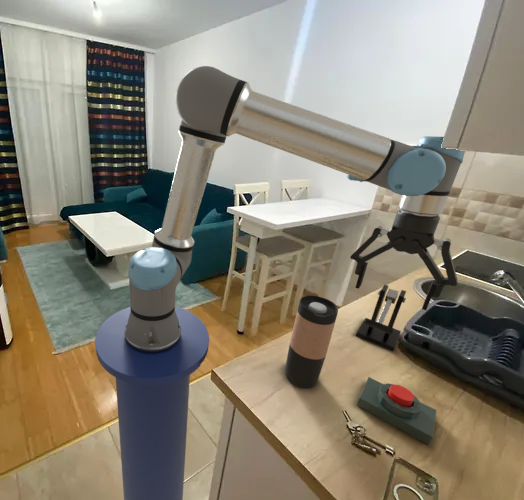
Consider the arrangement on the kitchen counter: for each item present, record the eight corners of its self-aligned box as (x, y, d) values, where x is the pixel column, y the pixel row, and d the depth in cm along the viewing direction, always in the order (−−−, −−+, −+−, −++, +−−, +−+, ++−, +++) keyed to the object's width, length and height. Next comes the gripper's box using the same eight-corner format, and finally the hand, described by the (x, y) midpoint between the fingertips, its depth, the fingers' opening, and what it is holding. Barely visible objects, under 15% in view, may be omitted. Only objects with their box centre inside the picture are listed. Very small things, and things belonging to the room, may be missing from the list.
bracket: (393, 351, 77) (411, 304, 72) (355, 335, 83) (370, 290, 78) (399, 334, 84) (416, 290, 78) (364, 320, 90) (378, 278, 84)
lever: (390, 336, 72) (392, 331, 71) (363, 325, 76) (364, 320, 75) (405, 299, 78) (407, 294, 77) (379, 291, 82) (381, 285, 80)
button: (385, 398, 59) (388, 392, 58) (389, 387, 62) (392, 381, 61) (410, 411, 56) (413, 404, 56) (412, 398, 59) (415, 392, 58)
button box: (356, 405, 62) (361, 391, 60) (365, 383, 67) (370, 370, 65) (428, 445, 54) (436, 430, 52) (432, 417, 59) (439, 403, 58)
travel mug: (299, 360, 73) (316, 292, 66) (325, 382, 67) (347, 310, 59) (276, 369, 70) (291, 299, 63) (301, 394, 64) (321, 318, 56)
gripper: (499, 220, 57) (458, 310, 65) (358, 200, 73) (339, 274, 81) (502, 228, 52) (457, 325, 60) (350, 204, 68) (330, 283, 76)
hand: (389, 296), depth 71 cm, fingers open, 13 cm apart
